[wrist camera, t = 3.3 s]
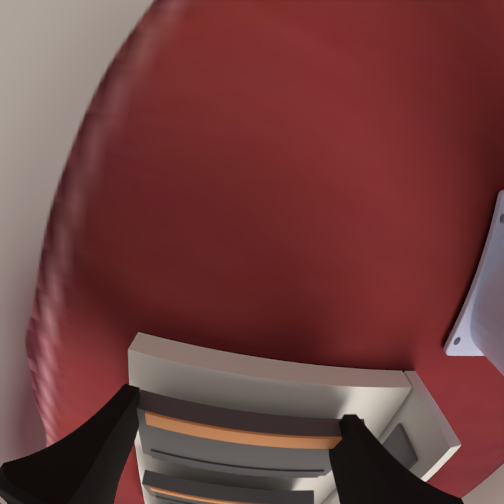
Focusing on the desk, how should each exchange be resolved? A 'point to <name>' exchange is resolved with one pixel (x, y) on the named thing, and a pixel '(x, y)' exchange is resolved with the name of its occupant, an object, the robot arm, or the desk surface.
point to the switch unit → (291, 407)
